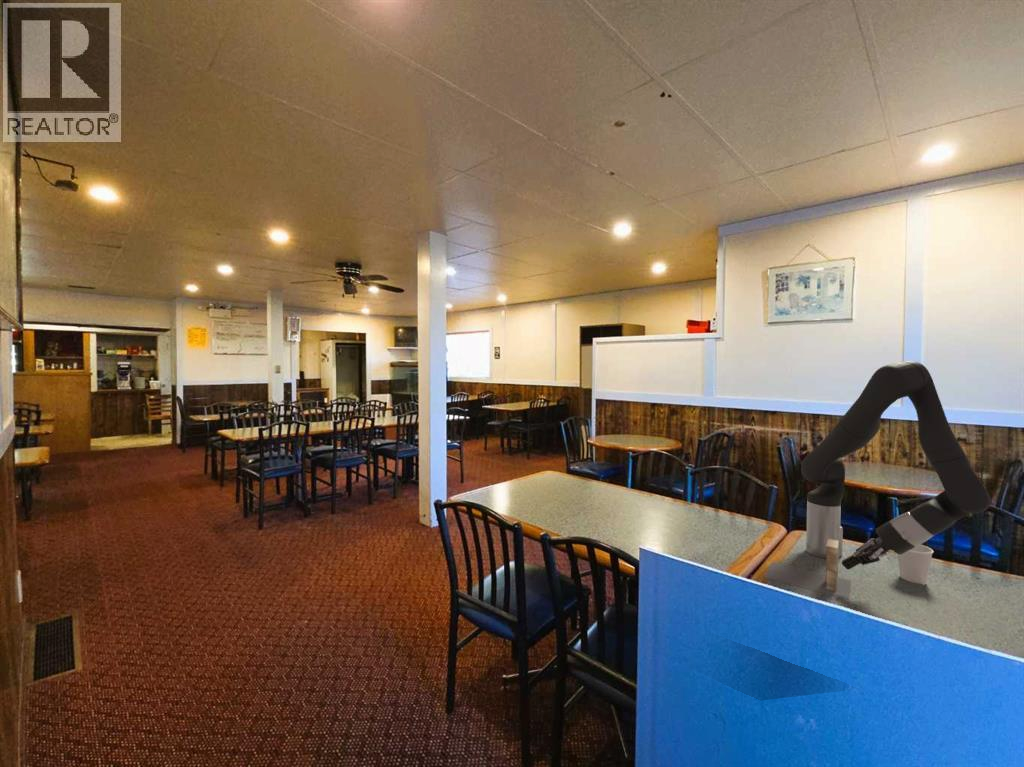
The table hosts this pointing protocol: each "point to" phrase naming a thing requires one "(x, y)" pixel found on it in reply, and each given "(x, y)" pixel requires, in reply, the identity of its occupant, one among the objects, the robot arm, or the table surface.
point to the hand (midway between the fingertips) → (844, 565)
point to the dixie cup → (915, 564)
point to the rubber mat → (806, 579)
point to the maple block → (832, 564)
